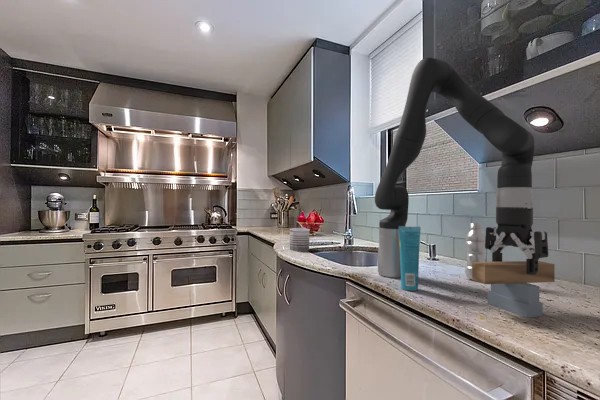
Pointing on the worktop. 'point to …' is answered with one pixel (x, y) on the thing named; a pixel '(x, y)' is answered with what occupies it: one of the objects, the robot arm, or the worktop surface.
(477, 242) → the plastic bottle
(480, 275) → the walnut bar
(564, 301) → the worktop surface
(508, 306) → the ridge
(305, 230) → the can
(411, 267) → the tube
